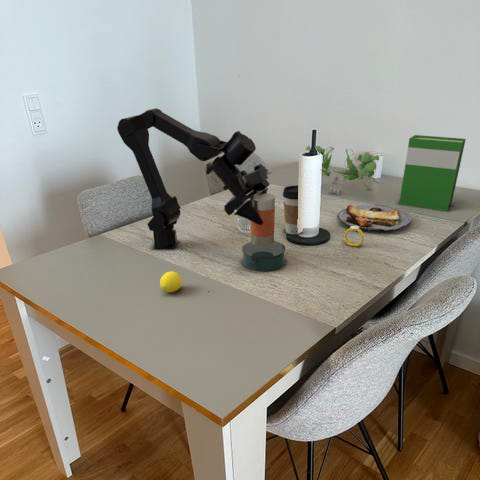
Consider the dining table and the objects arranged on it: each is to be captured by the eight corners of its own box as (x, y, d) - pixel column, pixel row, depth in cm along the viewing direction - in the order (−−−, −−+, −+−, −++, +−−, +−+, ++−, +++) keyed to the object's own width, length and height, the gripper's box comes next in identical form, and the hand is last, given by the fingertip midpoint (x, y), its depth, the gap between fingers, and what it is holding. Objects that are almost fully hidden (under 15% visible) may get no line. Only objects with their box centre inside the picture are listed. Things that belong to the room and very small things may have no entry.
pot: (232, 269, 134) (231, 255, 132) (255, 248, 146) (255, 235, 144) (272, 277, 129) (273, 262, 127) (293, 255, 142) (293, 241, 139)
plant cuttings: (310, 197, 212) (288, 176, 194) (324, 162, 211) (303, 137, 193) (381, 212, 192) (364, 190, 174) (397, 173, 192) (382, 147, 173)
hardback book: (451, 205, 177) (465, 138, 164) (447, 210, 172) (461, 142, 159) (404, 198, 185) (414, 134, 173) (399, 203, 180) (409, 138, 167)
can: (256, 247, 130) (256, 201, 123) (247, 239, 136) (246, 194, 129) (277, 243, 132) (279, 198, 125) (268, 235, 138) (269, 192, 131)
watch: (363, 245, 146) (366, 227, 143) (360, 248, 144) (362, 230, 141) (345, 242, 149) (347, 224, 146) (342, 244, 147) (344, 226, 144)
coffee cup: (305, 236, 154) (308, 191, 146) (280, 235, 155) (281, 190, 148) (307, 227, 161) (310, 184, 153) (283, 226, 162) (284, 183, 155)
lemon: (172, 298, 120) (170, 280, 117) (155, 294, 123) (153, 275, 120) (188, 287, 125) (186, 269, 122) (172, 283, 128) (170, 265, 125)
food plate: (330, 229, 159) (331, 219, 157) (344, 208, 177) (345, 199, 175) (407, 238, 151) (408, 227, 149) (413, 215, 169) (414, 205, 167)
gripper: (233, 164, 116) (273, 213, 118) (263, 149, 130) (298, 193, 132) (207, 192, 123) (245, 237, 125) (238, 174, 137) (272, 216, 139)
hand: (267, 220), depth 130 cm, fingers closed on can, 7 cm apart
